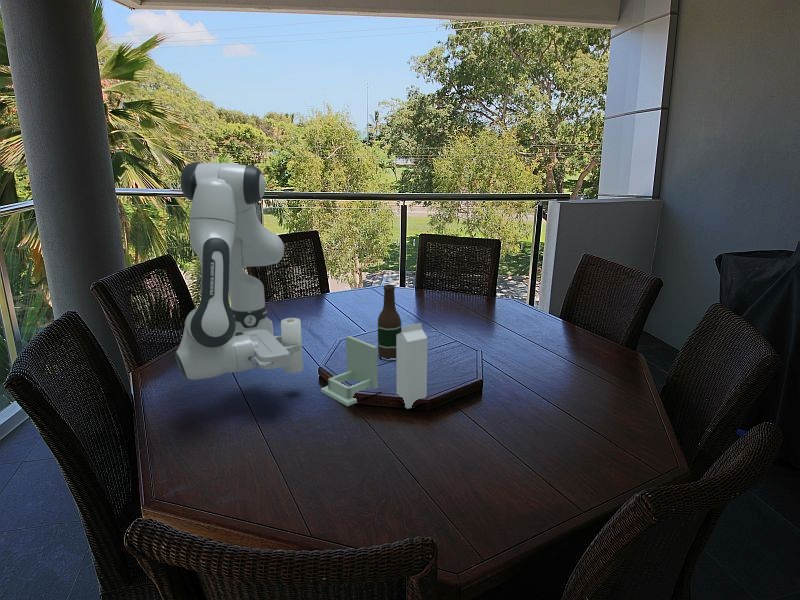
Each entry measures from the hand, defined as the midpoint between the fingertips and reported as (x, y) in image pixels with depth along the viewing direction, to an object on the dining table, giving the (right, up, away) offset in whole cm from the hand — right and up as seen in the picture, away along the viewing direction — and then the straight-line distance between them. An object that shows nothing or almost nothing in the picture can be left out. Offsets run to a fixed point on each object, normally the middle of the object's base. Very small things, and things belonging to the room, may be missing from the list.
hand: (295, 342), depth 146 cm
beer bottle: (+25, -7, +29) cm, 39 cm away
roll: (-1, -7, +2) cm, 8 cm away
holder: (+15, -14, +4) cm, 21 cm away
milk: (+32, -16, -1) cm, 35 cm away
